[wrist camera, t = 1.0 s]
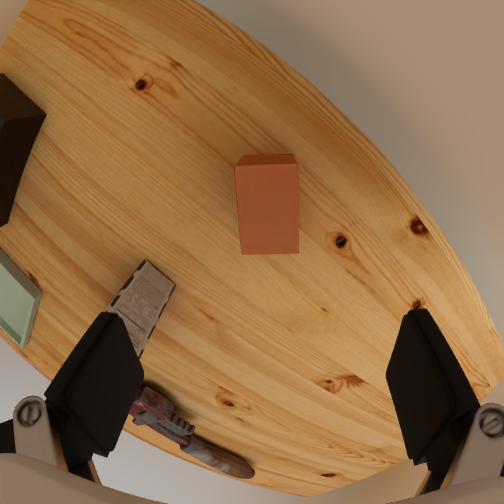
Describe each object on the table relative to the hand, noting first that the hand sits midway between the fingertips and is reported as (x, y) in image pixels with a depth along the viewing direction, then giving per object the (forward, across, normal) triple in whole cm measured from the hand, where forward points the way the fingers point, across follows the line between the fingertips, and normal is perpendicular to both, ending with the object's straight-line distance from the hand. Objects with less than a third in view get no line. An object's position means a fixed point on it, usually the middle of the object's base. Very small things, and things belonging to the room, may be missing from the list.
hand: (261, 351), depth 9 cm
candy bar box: (+20, +16, +12) cm, 28 cm away
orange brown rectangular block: (+20, 0, 0) cm, 20 cm away
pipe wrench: (+20, +16, +41) cm, 48 cm away
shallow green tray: (+20, +44, +14) cm, 50 cm away
